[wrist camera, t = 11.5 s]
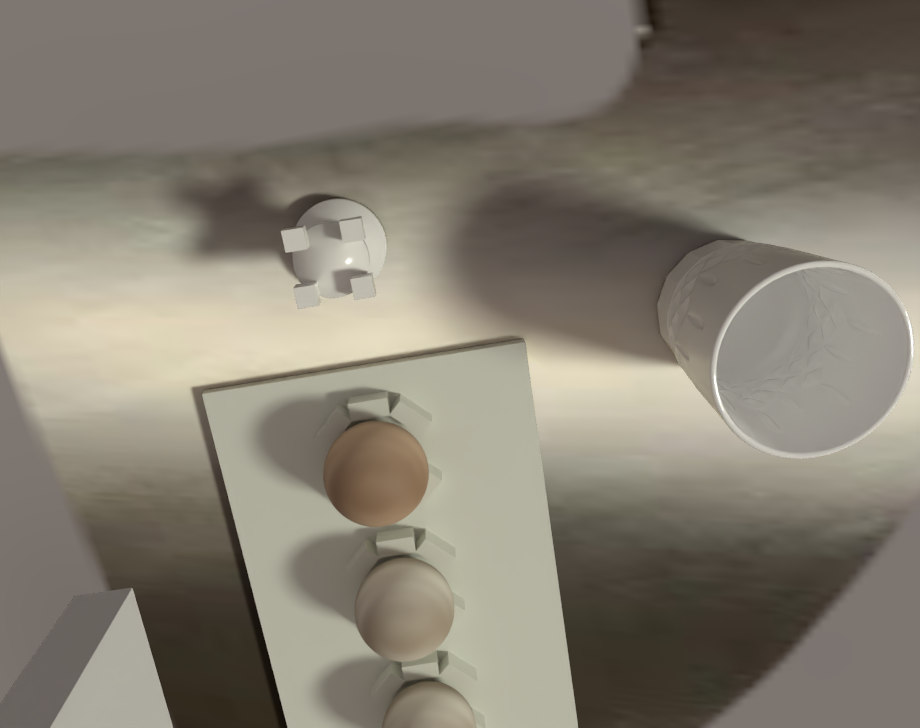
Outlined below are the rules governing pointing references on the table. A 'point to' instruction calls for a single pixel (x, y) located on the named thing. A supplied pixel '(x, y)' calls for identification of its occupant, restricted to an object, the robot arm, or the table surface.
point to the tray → (401, 536)
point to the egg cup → (336, 251)
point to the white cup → (787, 344)
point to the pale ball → (429, 708)
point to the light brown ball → (375, 473)
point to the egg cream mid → (404, 609)
